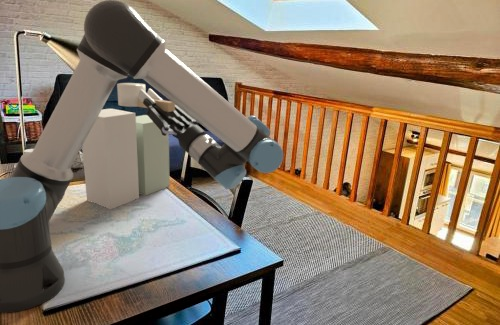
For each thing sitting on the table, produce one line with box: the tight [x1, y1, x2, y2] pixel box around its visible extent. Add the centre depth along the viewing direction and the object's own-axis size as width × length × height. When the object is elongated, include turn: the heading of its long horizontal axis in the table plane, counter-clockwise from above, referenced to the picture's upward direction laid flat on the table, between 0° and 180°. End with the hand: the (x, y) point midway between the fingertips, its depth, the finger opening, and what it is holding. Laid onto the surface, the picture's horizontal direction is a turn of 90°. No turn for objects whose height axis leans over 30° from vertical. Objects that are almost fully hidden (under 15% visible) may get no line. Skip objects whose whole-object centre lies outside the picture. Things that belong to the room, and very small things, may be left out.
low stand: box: [136, 114, 171, 196], centre depth 133 cm, size 12×12×26 cm
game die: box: [71, 150, 84, 171], centre depth 152 cm, size 9×8×10 cm
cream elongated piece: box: [116, 82, 175, 112], centre depth 105 cm, size 20×8×6 cm, turn 58°
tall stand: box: [81, 108, 140, 210], centre depth 120 cm, size 12×12×30 cm
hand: (144, 92), depth 105 cm, fingers closed on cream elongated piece, 2 cm apart
